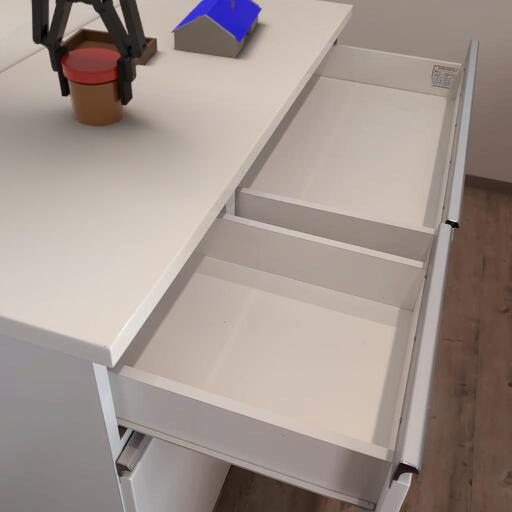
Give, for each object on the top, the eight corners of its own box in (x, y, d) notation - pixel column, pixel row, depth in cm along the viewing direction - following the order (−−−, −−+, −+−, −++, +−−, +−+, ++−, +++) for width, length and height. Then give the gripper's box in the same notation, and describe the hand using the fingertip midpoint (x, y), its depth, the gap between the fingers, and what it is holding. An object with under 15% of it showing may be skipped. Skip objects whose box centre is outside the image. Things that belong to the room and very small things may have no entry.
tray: (54, 64, 99) (52, 50, 98) (83, 40, 109) (81, 28, 107) (135, 75, 98) (134, 62, 96) (157, 51, 107) (156, 38, 105)
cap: (110, 87, 74) (108, 74, 73) (52, 78, 75) (49, 66, 74) (132, 64, 81) (131, 52, 80) (78, 56, 82) (77, 44, 80)
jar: (66, 132, 81) (55, 70, 75) (87, 110, 87) (78, 50, 81) (115, 140, 80) (108, 78, 74) (133, 117, 86) (128, 57, 80)
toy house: (239, 58, 107) (240, 19, 102) (171, 48, 108) (169, 10, 103) (261, 23, 123) (263, -12, 118) (201, 15, 125) (201, -20, 120)
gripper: (-27, -84, 64) (17, 97, 79) (147, -65, 62) (158, 118, 77) (7, -94, 70) (42, 77, 85) (167, -77, 67) (174, 96, 82)
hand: (97, 96), depth 81 cm, fingers closed on cap, 8 cm apart
